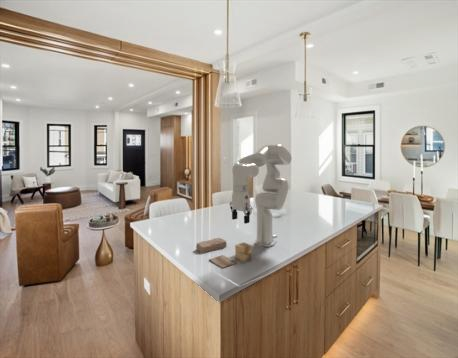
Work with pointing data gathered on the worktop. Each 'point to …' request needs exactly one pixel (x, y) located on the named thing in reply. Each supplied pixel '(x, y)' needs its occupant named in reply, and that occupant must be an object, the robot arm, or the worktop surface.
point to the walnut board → (222, 261)
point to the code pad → (243, 261)
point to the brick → (211, 245)
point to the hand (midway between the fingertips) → (240, 221)
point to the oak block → (243, 251)
